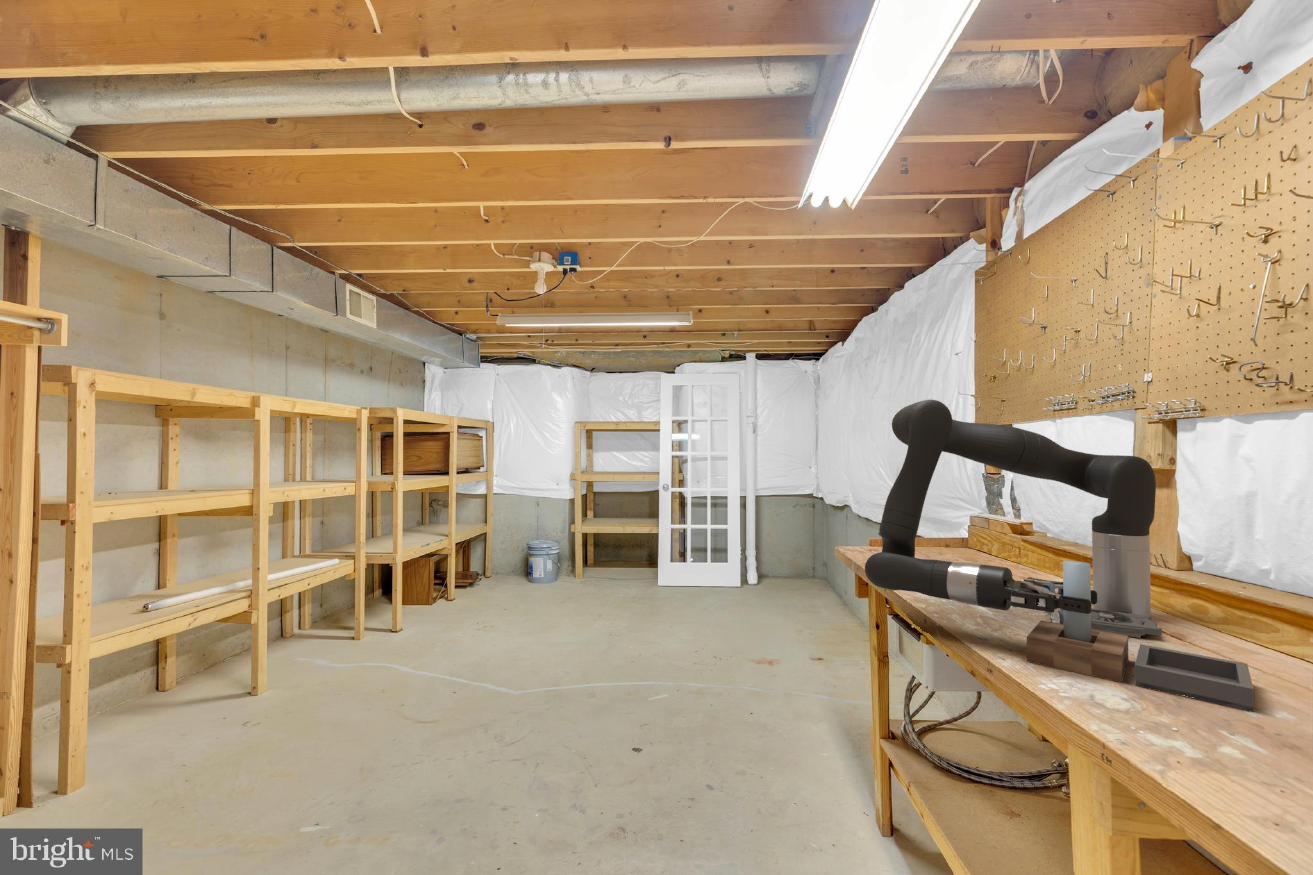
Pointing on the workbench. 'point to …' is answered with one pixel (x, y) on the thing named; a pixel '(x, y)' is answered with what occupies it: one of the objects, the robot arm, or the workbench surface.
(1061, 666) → the bore block
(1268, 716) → the workbench surface
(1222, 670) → the tray
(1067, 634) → the dowel
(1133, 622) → the graphics card
